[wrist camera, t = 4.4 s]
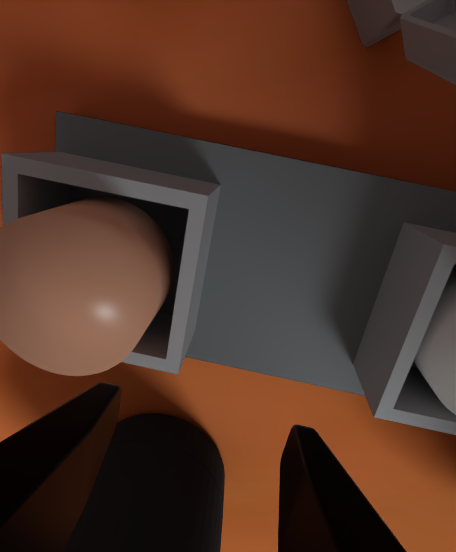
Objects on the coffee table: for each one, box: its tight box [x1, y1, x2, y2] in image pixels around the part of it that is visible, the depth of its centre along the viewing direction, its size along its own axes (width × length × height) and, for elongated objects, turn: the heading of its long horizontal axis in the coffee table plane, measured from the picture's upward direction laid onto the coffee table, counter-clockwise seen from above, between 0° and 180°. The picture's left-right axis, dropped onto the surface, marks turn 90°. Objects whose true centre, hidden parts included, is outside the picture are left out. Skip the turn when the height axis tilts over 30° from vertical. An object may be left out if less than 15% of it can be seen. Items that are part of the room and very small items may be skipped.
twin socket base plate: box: [1, 111, 456, 435], centre depth 17 cm, size 11×24×6 cm, turn 79°
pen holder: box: [62, 414, 225, 552], centre depth 20 cm, size 9×9×10 cm
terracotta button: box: [0, 197, 174, 376], centre depth 14 cm, size 6×6×4 cm
